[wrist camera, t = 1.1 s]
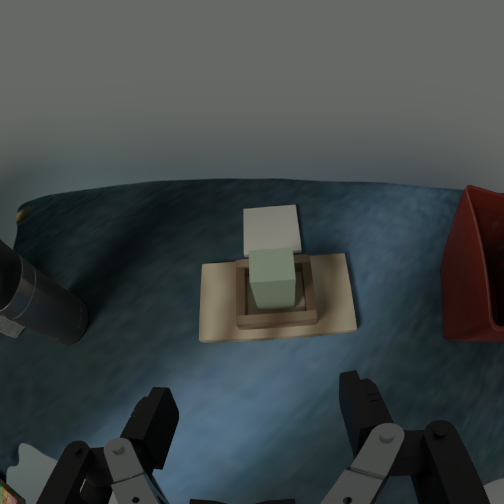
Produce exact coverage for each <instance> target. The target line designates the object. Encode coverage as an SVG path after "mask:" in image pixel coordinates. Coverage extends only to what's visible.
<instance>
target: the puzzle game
mask: <svg viewBox="0 0 504 504" xmlns="http://www.w3.org/2000/svg"><path fill="white" fill-rule="evenodd" d="M0 504H26V502H25V499H24V498H22V497H21V496H20V495H19V494H18V493H17V492H15V491H14V490H13V489H12V488H11V487H10V486H9V485H8V484H7V483H5V482H4V481H3V480H2V479H0Z"/></svg>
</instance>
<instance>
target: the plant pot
mask: <svg viewBox="0 0 504 504" xmlns="http://www.w3.org/2000/svg"><path fill="white" fill-rule="evenodd" d="M440 273H441V286H442V306H443V337H444V338H445V339H446V340H448V341H459V342H504V195H502V194H499V193H496V192H492V191H489V190H486V189H482V188H479V187H476V186H472V185H467V186H466V188H465V190H464V193H463V195H462V198H461V201H460V203H459V206H458V209H457V212H456V215H455V217H454V220H453V223H452V227H451V230H450V233H449V236H448V240H447V244H446V248H445V251H444V256H443V260H442V265H441V270H440Z"/></svg>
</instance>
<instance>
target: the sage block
mask: <svg viewBox="0 0 504 504" xmlns="http://www.w3.org/2000/svg"><path fill="white" fill-rule="evenodd" d="M249 278H250V285H251V289H252V292H253V295H254V298H255V301H256V304H257V307H258V310H259V311H260V310H275V309H288V308H294V303H295V282H296V278H295V268H294V258H293V249H292V247H289V248H276V249H264V250H252V251H249Z"/></svg>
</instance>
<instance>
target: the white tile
mask: <svg viewBox="0 0 504 504" xmlns="http://www.w3.org/2000/svg"><path fill="white" fill-rule="evenodd" d="M289 247H292V249H293V253H301V252H302V249H301V241H300V234H299V226H298V219H297V212H296V205H285V206H273V207H261V208H250V209H244V256H245V257H249V251H252V250H264V249H276V248H289Z"/></svg>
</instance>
